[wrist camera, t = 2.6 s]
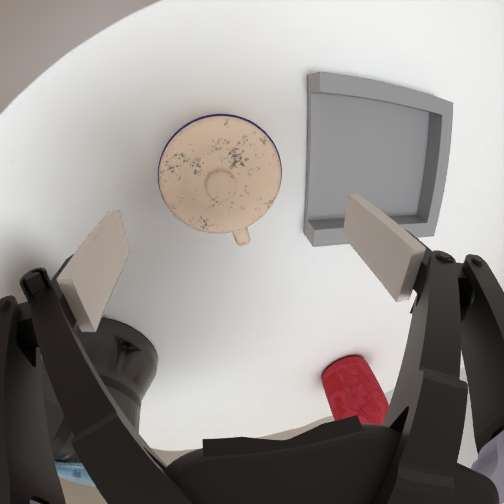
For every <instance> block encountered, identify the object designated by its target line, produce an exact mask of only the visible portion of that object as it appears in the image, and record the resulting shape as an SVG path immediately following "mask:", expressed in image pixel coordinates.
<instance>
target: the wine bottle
mask: <svg viewBox="0 0 504 504" xmlns="http://www.w3.org/2000/svg"><path fill="white" fill-rule="evenodd" d="M322 383H323V387H324V390H325V393H326V396H327V399H328V402H329V405H330V408H331V411H332V414H333V417H334V419H335V421H337V420H340V419H344V418H348V417H351V416H355V415H358V418H359V420H360V423H369V424H377V425H381V424H382V422H383V421H384V419H385V416H386V414H387V411H388V408H389V405H388V402H387V399H386V397H385V395H384V393H383V391H382V389H381V387H380V385H379V383H378V381H377V379H376V377H375V376H374V374H373V372H372V370H371V368H370V367H369V365H368V363H367V362H366V361H365V360H364V359H363V358H361V357H358V356H353V357H347V358H344V359H341V360H339V361H337V362H335V363H334V364H332V365H331V366H330V367H329V368H328V369H327V370H326V371H325V372H324V374H323V377H322Z"/></svg>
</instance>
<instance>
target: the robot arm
mask: <svg viewBox="0 0 504 504" xmlns="http://www.w3.org/2000/svg"><path fill="white" fill-rule="evenodd" d="M343 237H344V238H345V239H346V240H347V241H348V242H349V244H350V245H351V246H352V247H353V248H354V250H355V251H356V252H357V253H358V254H359V256H360V257H361V258H362V259H363V260H364V262H365V263H366V264H367V265H368V267H369V268H370V269H371V270H372V272H373V273H374V274H375V275H376V277H377V278H378V279H379V280H380V282H381V283H382V284H383V285H384V287H385V288H386V289H387V291H388V292H389V293H390V295H391V296H392V297H393V298H394V300H395V301H396V302H401V301H405V300H409V298H410V296H411V293H412V290H413V289H414V290H415V291H416V293H417V296H416V299H415V301H414V304H413V306H412V309H411V311H410V313H411V314H412V313H413V314H412V320H411V325H410V330H409V335H408V340H407V344H406V349H405V353H404V357H403V361H402V365H401V369H400V372H399V376H398V379H397V383H396V386H395V390H394V393H393V396H392V399H391V402H390V405H389V408H388V411H387V414H386V416H385V419H384V421H383V422H382V424H381V425H377V424H369V423H360V420H359V418H358V415H355V416H351V417H348V418H344V419H340V420H337V421H333V422H328V423H324V424H321V425H319V426H317V427H315V428H313V429H311V430H309V431H307V432H305V433H302V434H300V435H298V436H296V437H293V438H291V439H288V440H267V439H257V438H248V437H235V438H220V439H203V448H202V449H198V450H195V451H192V452H189V453H187V454H185V455H183V456H181V457H179V458H178V459H176V460H175V461H173V462H172V463H171V464H170V465H168V466H166V464H164V462H163V461H162V460H161V459H160V458H159V457H158V456H157V455H156V454H155V453H154V452H153V450H152V449H151V448H150V447H149V446H148V445H147V443H146V442H145V441H144V440H143V438H142V437H141V436H140V435H139V420H140V408H141V401H142V399H143V397H144V395H145V394H146V392H147V390H148V388H149V386H150V384H151V383H152V381H153V379H154V377H155V375H156V371H157V363H158V357H157V353H156V351H155V349H154V347H153V346H152V344H151V343H150V342H149V341H148V340H147V339H146V338H145V337H144V336H143V335H142V334H140V333H139V332H138V331H136V330H134V329H133V328H131V327H129V326H127V325H125V324H122V323H120V322H117V321H114V320H110V319H104V318H101V317H102V315H103V312H104V310H105V307H106V305H107V303H108V300H109V298H110V295H111V293H112V291H113V289H114V286H115V284H116V282H117V279H118V277H119V275H120V273H121V271H122V269H123V266H124V264H125V262H126V260H127V258H128V256H129V254H130V251H129V247H128V243H127V239H126V235H125V231H124V226H123V222H122V218H121V213H120V210H119V211H112V212H108V213H107V214H106V215H105V216H104V218H103V219H102V220H101V221H100V222H99V223H98V225H97V226H96V227H95V228H94V230H93V231H92V232H91V233H90V235H89V236H88V237H87V238H86V240H85V241H84V242H83V243H82V245H81V246H80V247H79V249H78V250H77V251H76V253H75V254H73V255H72V256H70V257H69V258H68V259H67V260H66V261H65V262H64V263H63V265H62V267H60V269H59V270H58V272H57V273H56V274H55V276H54V277H53V279H52V280H51V282H50V279H49V277H48V275H47V272H46V270H45V269H44V268H36V269H33V270H31V271H29V272H28V273H26V274H25V275H24V276H23V277H22V278H21V280H20V286H21V288H22V290H23V292H24V294H25V296H26V298H27V300H28V302H24V303H21V304H18V303H17V301H16V299H15V297H14V296H6V297H4V298H2V299H1V300H0V504H66V503H65V498H64V495H63V491H62V487H61V484H60V480H59V478H62V479H66V480H69V481H72V482H76V483H80V484H84V485H89V486H94V487H97V489H98V490H99V492H100V493H101V495H102V496H103V497H104V499H105V500H106V502H107V503H108V504H502V503H503V502H504V292H503V290H502V288H501V286H500V285H499V283H498V281H497V279H496V278H495V276H494V274H493V273H492V271H491V269H490V268H489V266H488V264H487V263H486V262H485V261H484V260H483V259H482V258H481V257H480V256H477V255H472V254H469V255H467V256H466V258H465V261H464V263H456V261H455V259H454V258H453V257H452V256H451V255H449V254H448V253H445V252H443V251H433V252H432V251H431V250H430V249H429V248H428V247H427V246H426V245H424V244H423V243H422V242H421V241H419V239H417V238H416V237H415V236H414V235H413V234H412V233H410V232H409V231H407V230H405V229H403V228H402V227H401V226H400V225H399V224H397V223H396V222H395V221H394V220H392V219H391V218H390V217H389V216H387V215H386V214H385V213H383V212H382V211H381V210H380V209H378V208H377V207H376V206H374V205H373V204H372V203H370V202H369V201H368V200H366V199H365V198H364V197H362V196H361V195H360V194H348V195H347V204H346V213H345V221H344V229H343ZM76 322H77V324H76V325H75V323H76ZM74 325H75V326H74ZM461 351H462V355H463V360H464V365H465V370H466V375H467V381H468V385H467V383H466V382H464V381H461V380H460V379H459V377H460V359H461ZM41 355H42V357H41ZM468 387H469V393H470V400H471V408H472V418H473V428H474V437H475V442H476V448H477V452H478V460H476V461H475V462H474V463H473V465H472V467H471V469H470V468H467V467H465V466H463V465H461V464H459V463H457V459H458V455H459V450H460V445H461V440H462V434H463V428H464V421H465V414H466V405H467V394H468Z"/></svg>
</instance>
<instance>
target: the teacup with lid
mask: <svg viewBox="0 0 504 504" xmlns="http://www.w3.org/2000/svg"><path fill="white" fill-rule="evenodd" d="M281 177H282V167H281V161H280V156H279V153H278V151H277V148H276V146H275V145H274V143H273V141H272V140H271V138H270V137H269V136H268V135H267V134H266V132H265V131H263V130H262V129H261V128H260V127H259V126H257V125H256V124H254V123H253V122H251V121H249V120H247V119H245V118H242V117H239V116H235V115H228V114H213V115H208V116H204V117H200V118H198V119H195V120H193V121H191V122H189V123H187V124H186V125H184V126H183V127H182V128H180V129H179V130H178V131H177V132H176V133H175V134H174V135H173V136H172V137H171V139H170V140H169V141H168V143H167V144H166V146H165V148H164V150H163V152H162V155H161V158H160V161H159V167H158V183H159V188H160V192H161V195H162V197H163V199H164V201H165V203H166V205H167V206H168V208H169V209H170V210H171V212H172V213H173V214H174V215H175V216H176V217H177V218H178V219H179V220H180V221H182V222H183V223H185V224H186V225H188V226H190V227H192V228H194V229H197V230H199V231H203V232H208V233H229V232H232V233H233V236H234V238H235V241H236V243H237V244H238V245H240V246H243V245H246V244H248V243H249V242H250V237H249V233H248V230H247V226H249V225H251V224H253V223H254V222H256V221H257V220H258V219H260V218H261V217H262V216H263V215H264V214H265V213H266V212H267V211H268V209H269V208H270V207H271V205H272V204H273V202H274V200H275V198H276V196H277V194H278V191H279V188H280V184H281Z"/></svg>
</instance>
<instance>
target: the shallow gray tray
mask: <svg viewBox="0 0 504 504" xmlns="http://www.w3.org/2000/svg"><path fill="white" fill-rule="evenodd" d="M307 78H308V137H307V175H306V199H305V218H304V234H305V236H306V237H307V239H308V240H309V241H310V243H311V244H312V246H313V247H317V246H328V245H340V244H349V242H348V241H347V240H346V239H345V238H344V237H343V229H344V221H345V213H346V204H347V195H348V194H360V195H361V196H362V197H364V198H365V199H366V200H368V201H369V202H370V203H372V204H373V205H374V206H376V207H377V208H378V209H380V210H381V211H382V212H383V213H385V214H386V215H387V216H389V217H390V218H391V219H392V220H394V221H395V222H396V223H397V224H399V225H400V226H401V227H402V228H403V229H405V230H407V231H409V232H410V233H412V234H413V235H414V236H415V237H416V238H418V237H429V236H434V233H435V229H436V225H437V221H438V217H439V212H440V208H441V203H442V198H443V192H444V187H445V181H446V175H447V168H448V161H449V153H450V144H451V133H452V118H453V102H450V101H447V100H444V99H441V98H438V97H435V96H432V95H429V94H426V93H423V92H419V91H416V90H412V89H409V88H405V87H401V86H397V85H393V84H389V83H384V82H380V81H375V80H370V79H365V78H359V77H353V76H347V75H340V74H333V73H325V72H318V73H314V74H310V75H307Z"/></svg>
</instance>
